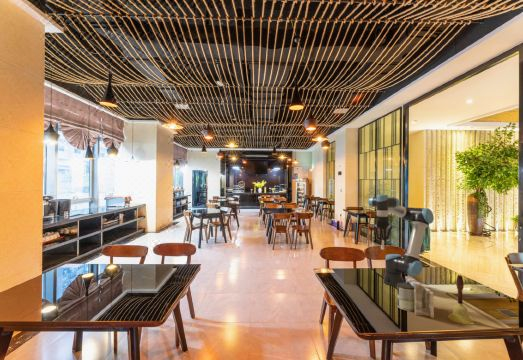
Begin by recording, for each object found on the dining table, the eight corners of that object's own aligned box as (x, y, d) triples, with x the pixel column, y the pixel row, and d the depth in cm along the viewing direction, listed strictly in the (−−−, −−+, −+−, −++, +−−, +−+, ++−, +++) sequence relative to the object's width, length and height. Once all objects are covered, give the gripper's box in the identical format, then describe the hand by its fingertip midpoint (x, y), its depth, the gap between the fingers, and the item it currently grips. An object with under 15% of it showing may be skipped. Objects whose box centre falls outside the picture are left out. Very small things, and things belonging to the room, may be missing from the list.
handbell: (479, 322, 153) (478, 277, 154) (464, 326, 148) (464, 279, 150) (456, 313, 164) (455, 271, 166) (442, 316, 160) (442, 273, 161)
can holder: (405, 302, 179) (404, 275, 180) (420, 304, 178) (420, 276, 179) (416, 315, 160) (415, 285, 161) (433, 317, 158) (433, 287, 159)
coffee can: (393, 304, 176) (393, 282, 177) (407, 303, 178) (407, 282, 178) (404, 311, 166) (404, 288, 166) (419, 310, 167) (419, 287, 168)
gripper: (373, 216, 193) (374, 249, 192) (393, 216, 190) (393, 250, 189) (371, 215, 200) (371, 247, 199) (390, 216, 198) (390, 248, 196)
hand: (382, 249), depth 194 cm, fingers closed
